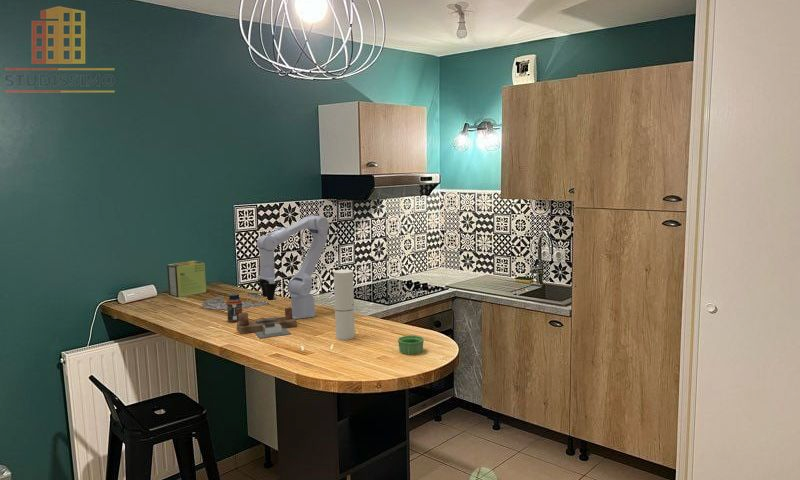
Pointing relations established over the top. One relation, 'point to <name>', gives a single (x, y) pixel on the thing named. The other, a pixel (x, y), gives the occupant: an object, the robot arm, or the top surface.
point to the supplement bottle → (234, 307)
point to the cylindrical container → (344, 304)
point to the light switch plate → (271, 329)
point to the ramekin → (411, 344)
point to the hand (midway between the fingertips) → (268, 298)
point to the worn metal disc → (218, 304)
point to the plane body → (264, 322)
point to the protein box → (186, 278)
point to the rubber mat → (284, 332)
